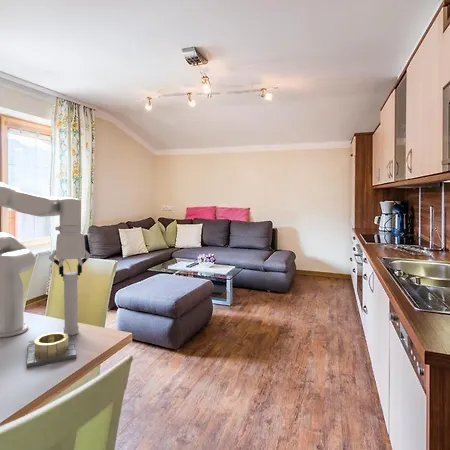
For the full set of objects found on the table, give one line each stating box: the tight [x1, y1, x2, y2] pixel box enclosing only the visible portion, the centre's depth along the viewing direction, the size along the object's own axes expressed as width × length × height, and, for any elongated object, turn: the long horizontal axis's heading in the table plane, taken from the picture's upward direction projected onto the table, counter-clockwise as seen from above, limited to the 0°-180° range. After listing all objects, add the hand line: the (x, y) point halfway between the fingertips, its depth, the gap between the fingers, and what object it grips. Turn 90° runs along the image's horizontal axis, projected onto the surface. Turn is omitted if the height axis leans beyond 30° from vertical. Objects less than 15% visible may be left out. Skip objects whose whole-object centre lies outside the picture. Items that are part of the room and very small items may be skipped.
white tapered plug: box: [62, 259, 80, 336], centre depth 125 cm, size 6×6×30 cm
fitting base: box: [26, 331, 77, 369], centre depth 111 cm, size 18×14×6 cm
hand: (70, 275), depth 125 cm, fingers closed on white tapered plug, 5 cm apart
